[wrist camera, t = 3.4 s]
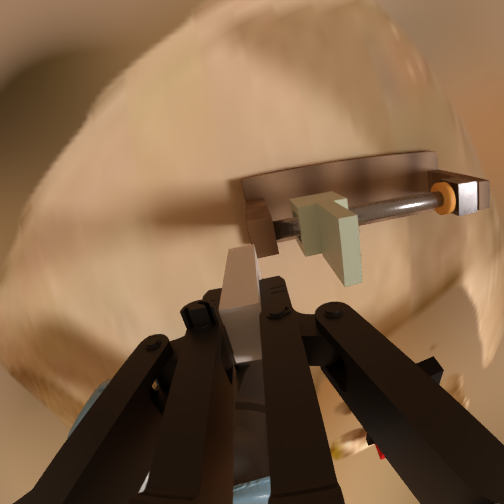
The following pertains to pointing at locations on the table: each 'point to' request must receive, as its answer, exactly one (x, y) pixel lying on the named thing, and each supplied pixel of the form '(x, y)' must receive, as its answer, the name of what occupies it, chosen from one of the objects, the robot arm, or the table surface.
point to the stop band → (445, 197)
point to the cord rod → (399, 206)
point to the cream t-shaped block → (330, 233)
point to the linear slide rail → (342, 189)
